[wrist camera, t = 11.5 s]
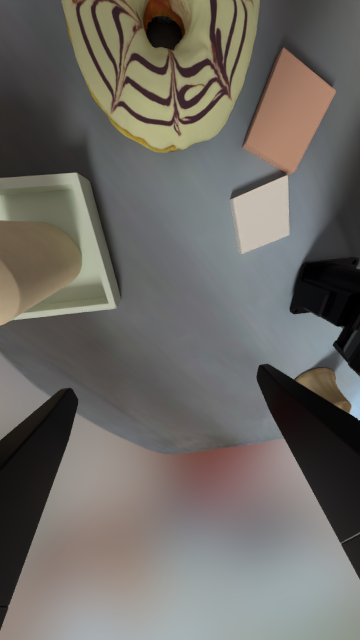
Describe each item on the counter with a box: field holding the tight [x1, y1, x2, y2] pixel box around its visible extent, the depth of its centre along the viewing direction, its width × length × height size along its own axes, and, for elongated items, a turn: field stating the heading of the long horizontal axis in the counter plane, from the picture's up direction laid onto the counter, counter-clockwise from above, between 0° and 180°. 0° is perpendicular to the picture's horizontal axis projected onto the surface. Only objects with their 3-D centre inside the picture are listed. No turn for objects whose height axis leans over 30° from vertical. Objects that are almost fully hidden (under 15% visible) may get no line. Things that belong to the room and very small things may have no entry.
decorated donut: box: [61, 0, 260, 153], centre depth 10 cm, size 10×11×4 cm
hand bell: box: [295, 368, 351, 413], centre depth 24 cm, size 8×8×16 cm
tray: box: [0, 173, 121, 320], centre depth 15 cm, size 11×11×2 cm
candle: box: [0, 220, 82, 325], centre depth 12 cm, size 6×6×10 cm
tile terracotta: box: [242, 47, 336, 175], centre depth 14 cm, size 5×5×1 cm
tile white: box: [230, 175, 290, 254], centre depth 17 cm, size 5×5×1 cm
